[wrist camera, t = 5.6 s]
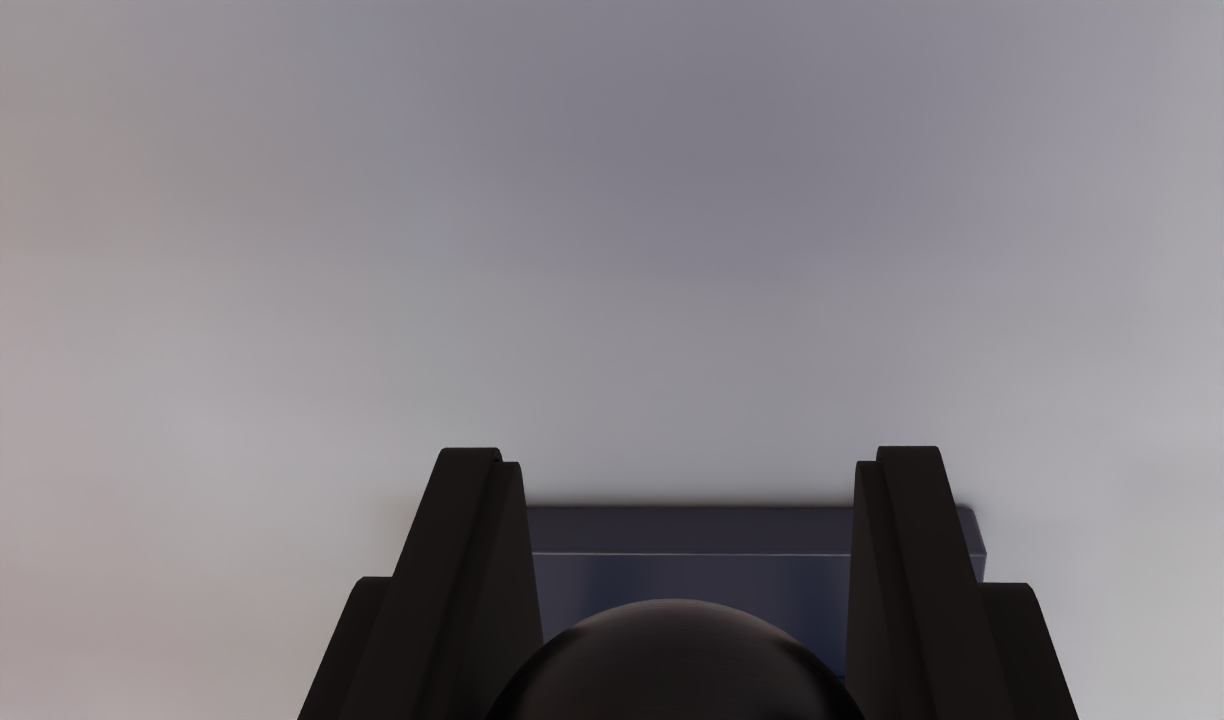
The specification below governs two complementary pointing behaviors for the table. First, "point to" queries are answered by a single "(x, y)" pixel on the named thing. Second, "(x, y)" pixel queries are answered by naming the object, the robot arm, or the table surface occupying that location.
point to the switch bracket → (708, 565)
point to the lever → (674, 670)
